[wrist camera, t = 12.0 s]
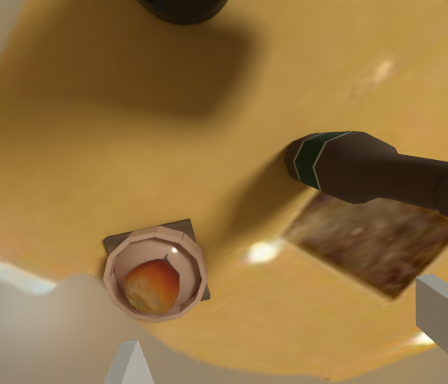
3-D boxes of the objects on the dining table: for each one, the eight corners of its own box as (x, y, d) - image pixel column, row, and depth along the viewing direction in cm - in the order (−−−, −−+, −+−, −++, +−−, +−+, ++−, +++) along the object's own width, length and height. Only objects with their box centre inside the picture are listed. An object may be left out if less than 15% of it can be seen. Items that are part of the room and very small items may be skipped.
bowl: (98, 239, 36) (89, 246, 33) (193, 217, 36) (192, 223, 34) (128, 318, 40) (123, 330, 37) (215, 299, 40) (215, 309, 37)
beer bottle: (304, 192, 37) (461, 283, 14) (273, 158, 36) (391, 196, 12) (340, 158, 36) (576, 195, 13) (310, 122, 35) (516, 89, 11)
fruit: (201, 275, 36) (174, 323, 30) (172, 283, 40) (144, 326, 34) (168, 238, 34) (132, 281, 28) (142, 250, 39) (106, 290, 32)
